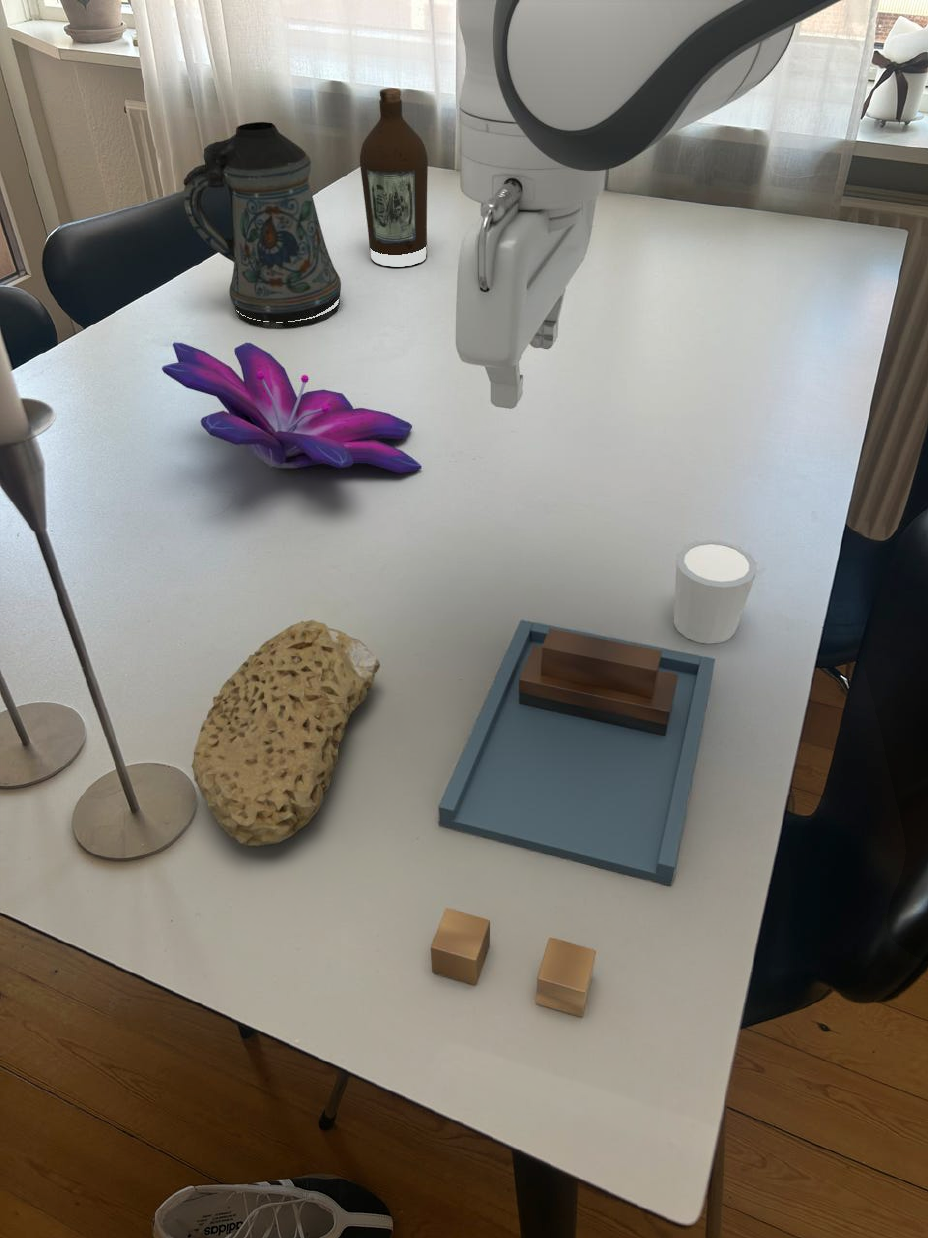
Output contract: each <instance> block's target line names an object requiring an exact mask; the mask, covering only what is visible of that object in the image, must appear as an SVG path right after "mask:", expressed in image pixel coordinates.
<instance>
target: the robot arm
mask: <svg viewBox="0 0 928 1238" xmlns="http://www.w3.org/2000/svg"><path fill="white" fill-rule="evenodd" d="M841 1H842V0H457V18H458V25H459V29H460V32H461V36H462V41H463V44H464V53H465V67H464V68H465V69H464V75H463V76H464V77H463V81H462V85H461V88H460V93H459V101H458V105H459V107H458V109H459V110H458V111H459V114H458V116H459V183H460V184H459V187H460V190H461V192H462V194H463V195H464V196H466V197H467V198H469V199H470V200H472V201H474V202H476V203H479V204H480V217H478V219H476V220H475V222H474V223H473V224H472V225H471V226H470V227H469V228H468V229H467V231H466V232H465V235H463V239H462V243H461V246H460V251H459V258H458V264H457V265H458V266H457V282H456V283H457V286H456V302H455V303H456V304H455V347H456V351H457V354H458V356H459V358H460V360H461V362H463V363H465V364H469V365H475V366H479V367H484V368H485V371H486V374H487V376H488V379H489V382H490V403H491V405H493V406H494V407H496V408H502V409H509V410H511V409H512V410H513V409H515V408H516V407H517V406H518V403H519V402H520V400H521V398H522V397H523V392H524V391H523V386H524V375H523V374H521V372H520V361H521V359H522V357H523V356H522V355H523V354H524V353H525V351H526V349H527V348H528V347H529V345H530V347H532V348H533V349H543V350H549V349H551V348H552V347H553V345H554V344H555V343H556V341H557V339H558V337H559V336H558V335H559V321H560V316H561V312H562V307H563V304H564V298H565V294H566V288H567V287H568V285H569V283H570V282H571V280H572V279H573V278H574V276H575V274H576V272H577V271H578V269H579V268H580V266H581V265H582V264H583V262H584V260H585V258H586V255H587V252H588V248H589V245H590V241H591V236H592V230H593V224H594V218H595V211H596V204H597V198H599V197H600V196H601V195H602V194H603V192H604V190H605V184H606V172H607V170H611V169H615V168H617V167H619V166H622V165H624V164H626V163H628V162H630V161H631V160H633V159H634V158H636V157H637V156H639V155H641V154H642V153H644V152H645V151H647V150H648V149H649V148H651V147H652V146H654V145H656V144H657V143H659V142H660V141H661V140H662V139H663V138H665V137H668V136H669V135H671V134H673V133H675V132H677V131H679V130H681V129H683V128H685V127H687V126H689V125H691V124H693V123H695V122H697V121H699V120H701V119H703V118H706V117H707V116H709V115H711V114H713V113H714V112H715V113H716V111H718V110H720V109H722V108H724V107H726V106H727V105H729V104H731V103H733V102H735V101H737V100H738V99H740V98H742V97H743V96H744V95H746V94H747V93H748V92H750V91H751V90H752V89H754V88H755V87H757V86H758V85H759V84H760V83H762V82H763V81H764V80H765V79H766V78H767V77H768V76H769V75H770V74H771V73H772V71H773V70H775V68H776V67H777V65H778V64H779V62H780V61H781V59H782V58H783V56H784V54H785V53H786V51H787V49H788V46H789V45H790V42H791V39H792V38H793V35H794V31H795V30H796V29H795V28H796V25H797V24H799V23H801V22H803V21H805V20H806V19H808V18H811V17H812V16H814V15H816V14H818V13H819V12H822V11H824V10H826V9H828V8H830V7H831V6H834V5H836V4H837V3H839V2H841Z"/></svg>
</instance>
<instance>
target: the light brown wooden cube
mask: <svg viewBox="0 0 928 1238" xmlns="http://www.w3.org/2000/svg"><path fill="white" fill-rule="evenodd" d="M596 954H597V950H596V949H594V948H590V947H586V946H583V945H579V944H576V943H573V942H569V941H565V940H562V939H558V938H555V937H551V936H550V937H548V941H547V943H546V947H545V951H544V953H543V958H542V961H541V964H540V966H539V967H540V968H539V971H538V975H537V978H536V989H535V990H536V991H535V1004H537V1005H540V1006H544V1007H547V1008H550V1009H553V1010H557V1011H559V1012H563V1013H566V1014H569V1015H573V1016H576V1017H579V1018H582V1017H583V1016H584V1013H585V1008H586V1005H587V1000H588V996H589V992H590V988H591V984H592V980H593V976H594V970H595V964H596V963H595V962H596V957H597V956H596Z"/></svg>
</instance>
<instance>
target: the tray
mask: <svg viewBox="0 0 928 1238" xmlns="http://www.w3.org/2000/svg"><path fill="white" fill-rule="evenodd" d="M550 628H551V629H556V630H561V631H566V632H571V633H576V634H581V635H586V636H591V637H596V638H601V639H605V640H610V641H615V642H620V643H625V644H630V645H635V646H640V647H645V648H650V649H655V650H660V651H662V654H661V660H660V666H659V671H663V672H668V673H673V674H678V679H677V685H676V690H675V695H674V701H673V705H672V710H671V714H670V719H669V723H668V727H667V732H666V735H665V736H661V735H657V734H652V733H648V732H643V731H639V730H634V729H630V728H625V727H621V726H616V725H612V724H607V723H603V722H598V721H594V720H589V719H585V718H580V717H576V716H572V715H567V714H563V713H558V712H554V711H549V710H545V709H540V708H536V707H531V706H527V705H522V704H519V678H520V676H521V673H522V671H523V668H524V666H525V664H526V661H527V659H528V656H529V654H530V651H531V649H532V647H533V645H537V646H543V643H544V641H545V638H546V636H547V633H548V631H549V629H550ZM715 664H716V658H714V657H709V656H703V655H699V654H694V653H691V652H690V653H689V652H684V651H679V650H675V649H669V648H665V647H661V646H655V645H651V644H646V643H640V642H636V641H630V640H625V639H621V638H614V637H610V636H605V635H601V634H597V633H596V634H595V633H591V632H585V631H581V630H575V629H570V628H566V627H560V626H556V625H551V624H546V623H541V622H535V621H530V620H524V619H520V621H519V623H518V626H517V628H516V630H515V632H514V634H513V636H512V639H511V641H510V644H509V645H508V648H507V650H506V652H505V655H504V657H503V659H502V661H501V663H500V667H499V668H498V671H497V673H496V676H495V677H494V680H493V682H492V684H491V687H490V689H489V691H488V693H487V696H486V698H485V700H484V702H483V705H482V707H481V709H480V712H479V714H478V716H477V719H476V721H475V723H474V724H473V728H472V730H471V732H470V733H469V736H468V738H467V741H466V743H465V746H464V748H463V750H462V752H461V755H460V757H459V759H458V761H457V764H456V767H455V768H454V770H453V773H452V775H451V777H450V780H449V782H448V784H447V787H446V789H445V791H444V794H443V795H442V798H441V800H440V802H439V804H438V825H439V826H440V827H444V828H448V829H450V830H451V829H452V830H455V831H460V832H464V833H467V834H471V835H475V836H479V837H482V838H486V839H489V840H493V841H498V842H501V843H505V844H509V845H513V846H516V847H520V848H525V849H527V850H532V851H535V852H536V851H537V852H539V853H543V854H547V855H551V856H556V857H558V858H563V859H566V860H570V861H574V862H578V863H582V864H586V865H589V866H594V867H597V868H601V869H605V870H609V871H611V872H612V871H613V872H617V873H620V874H624V875H628V876H630V877H631V876H632V877H635V878H640V879H644V880H646V881H647V880H648V881H650V882H654V883H659V884H663V885H666V886H669V887H670V886H672V884H673V880H674V875H675V871H676V870H675V869H676V866H677V859H678V855H679V850H680V846H681V845H680V844H681V840H682V839H681V838H682V834H683V828H684V825H685V818H686V815H687V814H686V813H687V809H688V804H689V797H690V792H691V788H692V782H693V777H694V773H695V767H696V762H697V756H698V751H699V747H700V741H701V736H702V731H703V726H704V721H705V716H706V710H707V704H708V700H709V694H710V688H711V684H712V680H713V673H714V668H715Z"/></svg>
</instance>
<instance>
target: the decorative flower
mask: <svg viewBox="0 0 928 1238" xmlns="http://www.w3.org/2000/svg"><path fill="white" fill-rule="evenodd" d="M172 347H173V350H174V353H175V356H176V360H177V362H174V363H173V362H172V363H170V364H165V365H163V366H162V367H161V371H162V372H163V373H164V374H165V375H167V376H168V377H169V378H171V379H173V380H174V381H176V382H177V383H179V384H181V385H182V386H183V387H185V388H186V389H189V390H193V391H196V392H200V393H204V394H206V395H210V396H213V397H216V399H218V401H219V402H220V403H221V404H222V405H223V407H224V408H225V409H226V410H220V411H216V412H214V413H211V414H208V415H206V416H204V417H202V418H201V419H200V425H201V427H202V428H203V429H204V430H205V431H206V432H207V433H208V435H210V436H212V437H214V438H216V439H220V440H222V441H225V442H228V443H229V444H230V443H231V444H233V445H235V446H243V445H244V446H246V447H247V448H248V449H249V450H250V451H251V453H253V454H254V455H255V456H256V457H258V458H259V459H260V460H261V461H263V463H265V464H266V465H267V466H268V467H270V468H271V467H274V468H275V469H298V468H299V469H300V468H305V467H310V466H316V465H320V464H325V465H329V466H332V467H335V468H338V469H343V468H348V467H351V466H352V465H354V464H369V465H372V466H375V467H378V468H381V469H385V470H388V471H391V472H394V473H398V474H401V473H411V472H417V471H419V470H421V469H422V467H423V466H422V465H421V464H420V463H419V462H418V461H417V460H415V459H414V458H413V457H411V456H410V455H409V454H408V453H406V452H405V451H403V450H401V449H399V448H396V447H394V446H392V445H389V444H386V443H384V442H382V441H379V440H376V439H389V440H404V439H405V438H406V437H407V435H408V434H409V433H410V431H412V429H413V424H411V423H410V422H408V421H406V420H404V419H402V418H399V417H397V416H396V415H393V414H390V413H388V412H384V411H378V410H374V409H369V408H364V407H357V408H354V407H353V405H352V404H351V402H350V401H349V400H348V399H347V397H346V396H345V394H344V393H342V392H338V391H332V390H327V389H317V390H310V391H306V392H304V390H305V387H306V385H307V383H309V376H308V375H307V374H303V375H301V377H300V382H302V383H301V387H300V390H299V393H298V395H297V394H296V392H295V389H294V387H293V384H292V383H291V380H290V377H289V375H288V373H287V371H286V369H285V367H284V366H283V365H282V364H281V363H280V362H279V361H278V360H277V359H276V358H275V357H274V356H273V355H272V354H271V353H268V352H267V351H266V350H264V349H262V348H260V347H259V346H257V345H255V344H253V343H251V342H244V343H243V344H241V345H238V346H236V347H235V348H234V350H233V351H234V355H235V357H236V359H237V361H238V364H239V366H240V369H241V373H242V378H243V379H242V378H241V377H240V376H239V374H238V373H237V372H236V370H234V369H233V368H232V367H231V366H229V365H228V364H226V363H225V362H223V361H222V360H219V359H218V358H217V357H215V356H214V355H211V354H210V353H208V352H206V351H204V350H202V349H199V348H196V347H193V346H192V345H189V344H186V343H183V342H173V344H172Z"/></svg>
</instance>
